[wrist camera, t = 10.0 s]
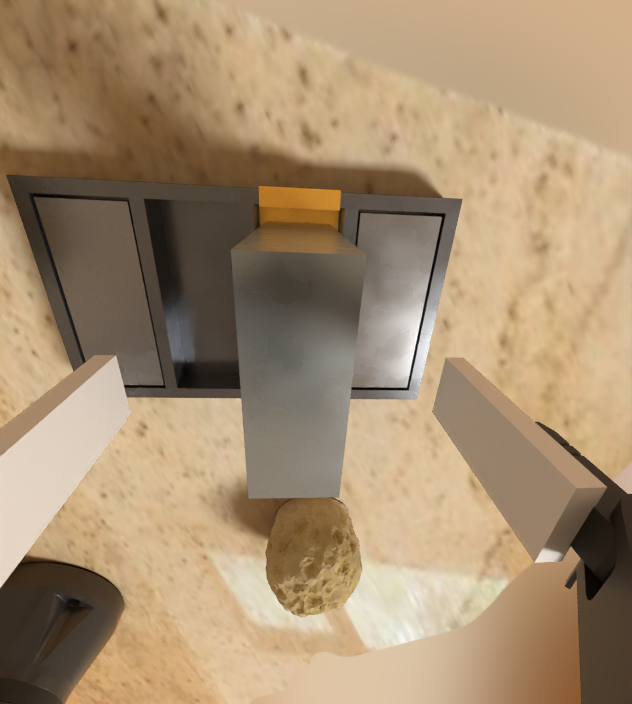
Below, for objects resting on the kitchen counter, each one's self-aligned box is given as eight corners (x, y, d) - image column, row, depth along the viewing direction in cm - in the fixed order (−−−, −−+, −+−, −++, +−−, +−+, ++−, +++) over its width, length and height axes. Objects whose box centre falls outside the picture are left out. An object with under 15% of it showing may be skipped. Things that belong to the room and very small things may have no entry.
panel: (269, 366, 24) (248, 498, 14) (266, 220, 20) (230, 249, 9) (320, 366, 25) (339, 497, 14) (329, 223, 20) (366, 255, 9)
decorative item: (285, 469, 35) (223, 556, 29) (360, 493, 29) (303, 611, 23) (316, 517, 40) (268, 603, 33) (387, 547, 33) (345, 659, 27)
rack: (101, 378, 25) (75, 403, 22) (40, 175, 19) (-8, 171, 16) (406, 382, 27) (420, 405, 24) (444, 197, 20) (469, 196, 17)
